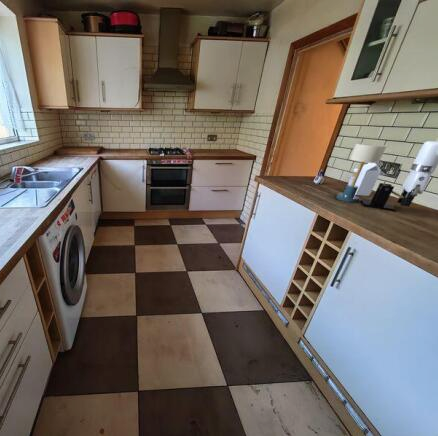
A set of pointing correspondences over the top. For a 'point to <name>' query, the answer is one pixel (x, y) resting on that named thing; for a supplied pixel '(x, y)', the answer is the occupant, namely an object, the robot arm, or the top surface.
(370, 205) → the switch bracket
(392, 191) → the lamp switch
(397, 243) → the top surface
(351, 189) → the table lamp
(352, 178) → the sprinkles bottle
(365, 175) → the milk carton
